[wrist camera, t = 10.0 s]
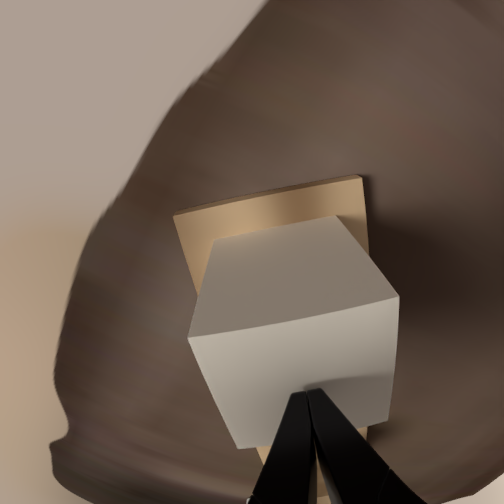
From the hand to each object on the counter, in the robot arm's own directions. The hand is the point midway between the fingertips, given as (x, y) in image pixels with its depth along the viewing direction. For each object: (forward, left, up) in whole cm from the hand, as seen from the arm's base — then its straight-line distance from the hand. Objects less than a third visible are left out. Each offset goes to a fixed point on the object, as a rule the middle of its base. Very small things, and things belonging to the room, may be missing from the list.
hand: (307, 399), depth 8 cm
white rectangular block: (0, 0, -7) cm, 7 cm away
